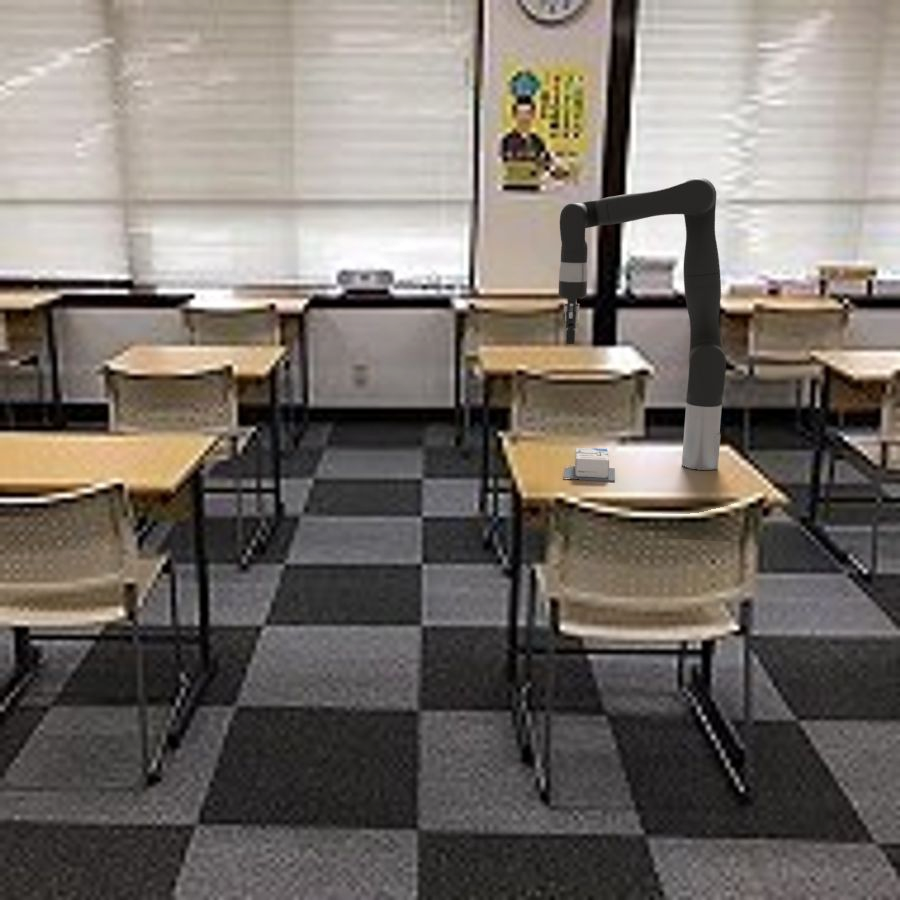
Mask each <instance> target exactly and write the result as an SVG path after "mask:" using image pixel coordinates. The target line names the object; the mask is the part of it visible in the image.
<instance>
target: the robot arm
mask: <svg viewBox="0 0 900 900" xmlns="http://www.w3.org/2000/svg"><path fill="white" fill-rule="evenodd" d="M716 205H717V191H716V186H714V184H713V183H712V182H711V181H710V180H709V179H707V178H704V177H693V178H689V179H688V180H686V181H685V182H681V183H679V184H677V185H673V186H671V187H667V188H663V189H658V190H653V191H645V192H636V193H634V192H633V193H627V194H620V195H614V196H607V197H604V198H600V199H599V200H597V199H596V200H590V201H589V200H588V201H581V202H572V203H568V204H566V205H565V206H564V207H563V208H562V209H561V212H560V214H559V216H560V217H559V232H560V241H561V247H560V265H559V270H558V271H559V273H558V297H560V298H564V299H567V303H564V307H563V308H564V310H563V311H564V322H565V329H566V338H565V342H566V344H567V345H574V344H575V342H576V340H575V339H576V330H577V322H578V320H579V312H580V303H577V301H578V299H585V298H586V297H587V292H588V290H587V289H588V243H587V240H586V229H590V228H594V227H599V226H609V225H617V224H624V223H629V222H633V221H638V220H642V219H647V218H652V217H658V216H667V215H668V216H669V215H683V217H684V225H685V232H686V234H685V246H684V256H683V286H684V287H683V288H684V289H683V290H684V297H685V302H686V309H687V315H688V318H689V319H688V320H689V327H690V328H689V330H690V332H689V333H690V335H689V336H690V337H689V338H690V340H689V341H690V342H689V354H688V364H689V366H688V380H687V391H686V400H685V413H684V414H685V415H684V416H685V417H684V426H683V427H684V429H683V440H682V441H683V444H682V455H681V465H683V466H682V467H684V466H685V467H684V468H686V467H687V469H691V470H695V469H697V471H711V470H719V458H720V448H721V447H720V445H721V431H720V430H721V423H722V422H721V419H722V408H723V397H724V392H725V380H726V371H727V369H726V368H727V358H726V355H725V353H724V350H723V347H722V340H721V339H722V338H721V334H720V333H721V332H720V324H719V320H720V308H721V296H722V285H721V284H722V281H721V265H720V257H719V250H718V243H717V238H716V207H717V206H716Z"/></svg>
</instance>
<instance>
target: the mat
mask: <svg viewBox="0 0 900 900" xmlns="http://www.w3.org/2000/svg"><path fill="white" fill-rule="evenodd" d="M569 466H570V467H568V468H565V467H564V473H563V477H562V478H570V479H579V480H578V481H585V480H588V481H589V482H604V481H607V483H608V482H609V483H616V472H615V471H616V468H615V467H609V477H608V478H597V477H578V476H576V475H575V465H569ZM588 481H587V482H588Z"/></svg>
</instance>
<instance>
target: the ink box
mask: <svg viewBox="0 0 900 900" xmlns="http://www.w3.org/2000/svg"><path fill="white" fill-rule="evenodd" d="M574 454H575V456H574V458H575V460H574V466H575V475H576V476H578V477H597V478H608V477H609V468H610V458H609V453H608V449H607V448H590V447H589V448H588V447H587V448H585V447H583V448H582V447H576V448H575V453H574Z"/></svg>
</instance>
